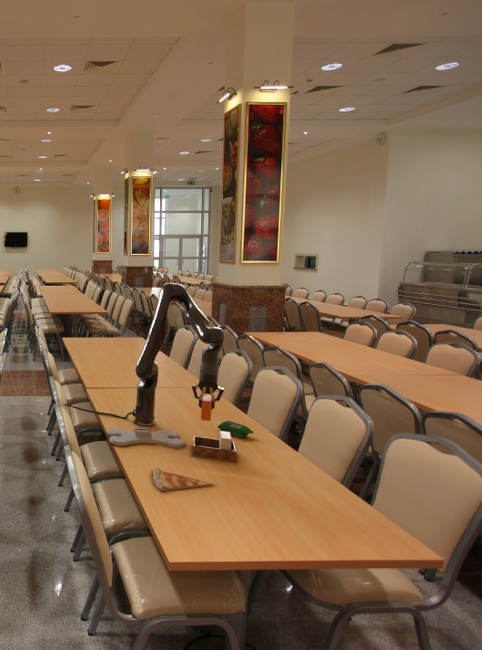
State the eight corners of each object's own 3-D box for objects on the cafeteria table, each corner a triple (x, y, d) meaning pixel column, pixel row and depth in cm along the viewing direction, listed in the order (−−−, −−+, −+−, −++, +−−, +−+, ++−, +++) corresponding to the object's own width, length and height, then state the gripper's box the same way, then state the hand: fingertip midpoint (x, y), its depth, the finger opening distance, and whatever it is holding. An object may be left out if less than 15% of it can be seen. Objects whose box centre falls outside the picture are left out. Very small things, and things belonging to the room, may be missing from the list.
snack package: (246, 441, 240) (247, 430, 240) (215, 430, 253) (216, 420, 252) (254, 438, 244) (255, 427, 244) (223, 428, 257) (224, 418, 256)
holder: (105, 431, 251) (106, 421, 250) (175, 433, 248) (176, 423, 248) (111, 446, 232) (111, 435, 231) (186, 449, 230) (187, 438, 229)
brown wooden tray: (192, 456, 222) (193, 445, 221) (192, 446, 233) (193, 435, 232) (235, 462, 216) (236, 451, 215) (233, 451, 227) (233, 441, 227)
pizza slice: (204, 502, 182) (205, 497, 181) (143, 486, 193) (143, 481, 193) (212, 485, 195) (212, 480, 195) (154, 471, 206) (154, 466, 206)
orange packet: (200, 419, 226) (202, 400, 225) (200, 413, 234) (202, 394, 233) (210, 421, 224) (212, 401, 223) (210, 414, 233) (211, 396, 232)
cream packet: (219, 457, 219) (221, 438, 218) (218, 450, 228) (220, 430, 227) (230, 459, 218) (231, 439, 217) (228, 451, 226) (229, 432, 225)
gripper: (225, 371, 227) (222, 408, 230) (192, 368, 233) (189, 404, 235) (226, 375, 220) (223, 413, 223) (192, 371, 226) (189, 408, 228)
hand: (206, 408), depth 229 cm, fingers closed on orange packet, 4 cm apart
